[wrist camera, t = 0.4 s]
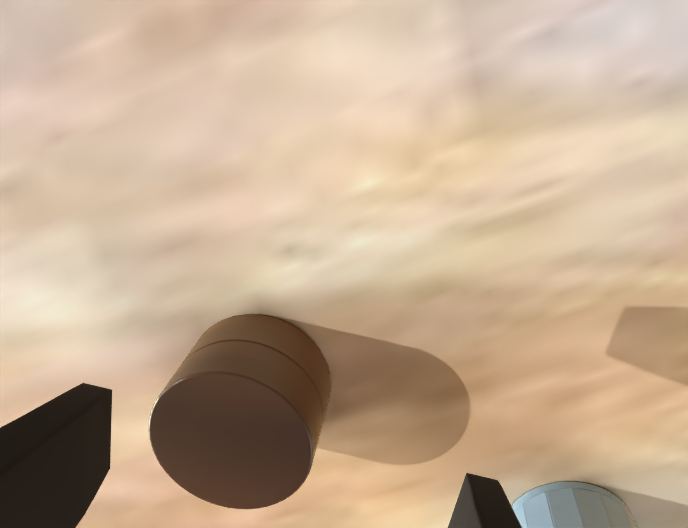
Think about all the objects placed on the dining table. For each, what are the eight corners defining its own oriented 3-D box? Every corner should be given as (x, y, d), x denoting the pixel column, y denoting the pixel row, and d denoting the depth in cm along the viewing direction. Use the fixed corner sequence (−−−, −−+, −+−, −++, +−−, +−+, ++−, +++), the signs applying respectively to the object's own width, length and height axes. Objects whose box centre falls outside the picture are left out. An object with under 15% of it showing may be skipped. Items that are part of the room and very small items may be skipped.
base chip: (325, 445, 24) (316, 480, 22) (191, 423, 25) (172, 456, 23) (338, 325, 22) (329, 353, 20) (191, 303, 22) (170, 329, 21)
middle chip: (316, 480, 22) (306, 522, 20) (172, 456, 23) (150, 494, 21) (329, 353, 20) (319, 387, 18) (170, 329, 21) (144, 359, 19)
